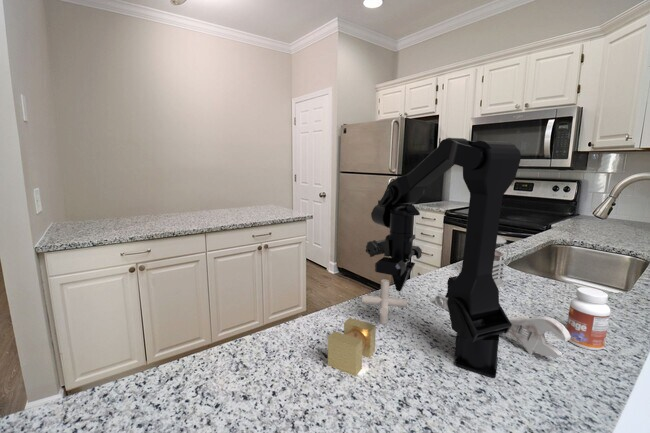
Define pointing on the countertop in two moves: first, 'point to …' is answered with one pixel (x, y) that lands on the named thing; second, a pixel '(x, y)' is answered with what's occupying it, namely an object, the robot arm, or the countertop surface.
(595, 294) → the pill bottle
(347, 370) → the square-ended brass dumbbell
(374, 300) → the pipe connector
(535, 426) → the countertop surface
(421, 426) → the countertop surface
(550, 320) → the wrench
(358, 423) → the countertop surface
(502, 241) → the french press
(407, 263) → the robot arm
